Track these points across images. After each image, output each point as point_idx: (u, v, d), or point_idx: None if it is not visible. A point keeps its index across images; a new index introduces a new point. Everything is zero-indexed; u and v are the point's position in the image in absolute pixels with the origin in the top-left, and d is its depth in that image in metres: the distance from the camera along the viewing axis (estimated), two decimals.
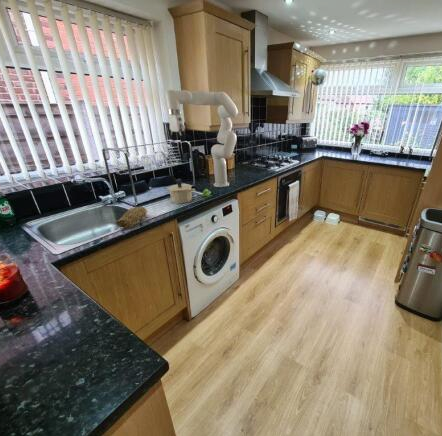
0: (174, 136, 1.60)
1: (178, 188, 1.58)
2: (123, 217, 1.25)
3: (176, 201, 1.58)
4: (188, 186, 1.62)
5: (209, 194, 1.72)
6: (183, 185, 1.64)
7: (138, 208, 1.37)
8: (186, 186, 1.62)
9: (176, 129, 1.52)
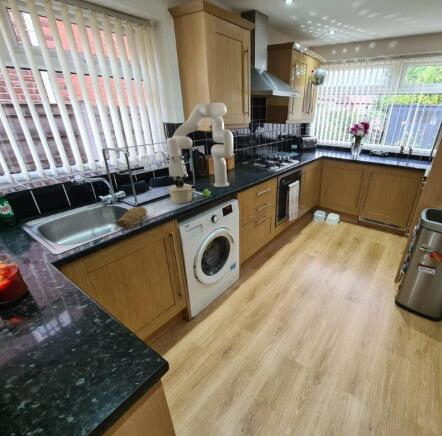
0: None
1: (178, 188, 1.58)
2: (123, 217, 1.25)
3: (176, 201, 1.58)
4: (188, 186, 1.62)
5: (209, 194, 1.72)
6: None
7: (138, 208, 1.37)
8: (186, 186, 1.62)
9: (180, 174, 1.55)
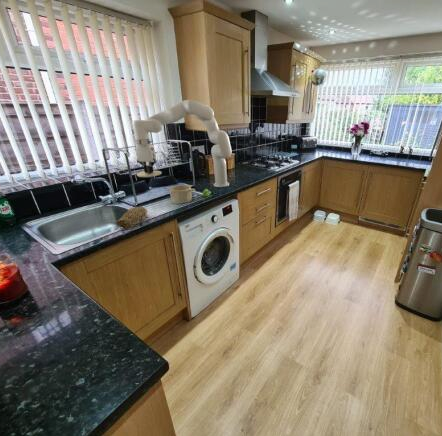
0: None
1: (147, 174, 1.50)
2: (123, 217, 1.25)
3: (176, 201, 1.58)
4: (158, 172, 1.54)
5: (209, 194, 1.72)
6: (153, 171, 1.56)
7: (138, 208, 1.37)
8: (156, 172, 1.54)
9: (149, 159, 1.47)
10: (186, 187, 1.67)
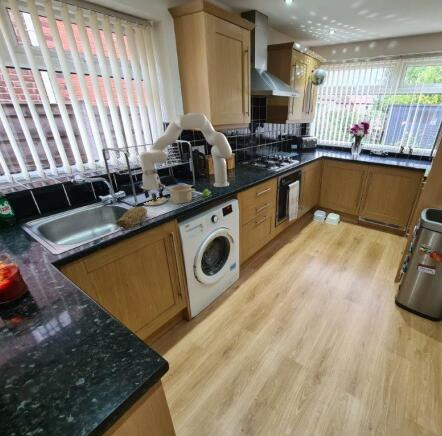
0: (147, 193, 1.60)
1: (152, 202, 1.58)
2: (123, 217, 1.24)
3: (176, 201, 1.58)
4: (163, 200, 1.62)
5: (209, 194, 1.72)
6: (158, 198, 1.64)
7: (138, 208, 1.37)
8: (161, 200, 1.62)
9: (154, 188, 1.55)
10: (186, 187, 1.67)
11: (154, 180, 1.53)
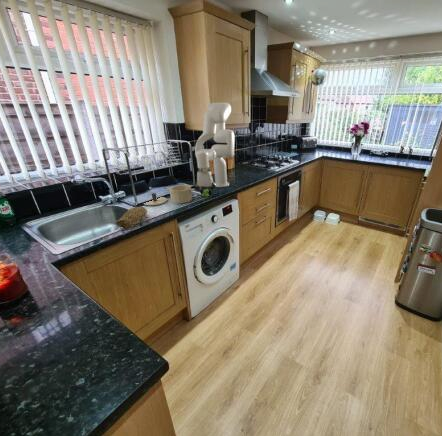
0: (202, 191, 1.72)
1: (152, 202, 1.58)
2: (123, 217, 1.25)
3: (176, 201, 1.58)
4: (163, 200, 1.62)
5: None
6: (158, 198, 1.64)
7: (138, 208, 1.37)
8: (161, 200, 1.62)
9: (208, 184, 1.67)
10: (186, 187, 1.67)
11: (208, 177, 1.65)
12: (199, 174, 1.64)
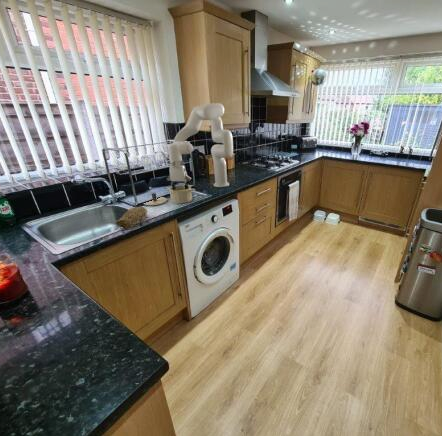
0: (174, 186, 1.62)
1: (152, 202, 1.58)
2: (123, 217, 1.25)
3: (176, 201, 1.58)
4: (163, 200, 1.62)
5: None
6: (158, 198, 1.64)
7: (138, 208, 1.37)
8: (161, 200, 1.62)
9: (181, 179, 1.57)
10: None
11: (181, 171, 1.55)
12: (171, 168, 1.54)
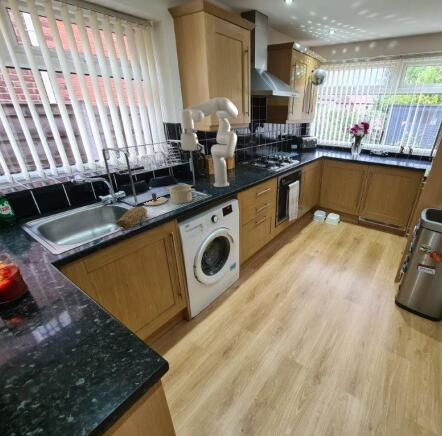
0: (184, 155, 1.58)
1: (152, 202, 1.58)
2: (123, 217, 1.25)
3: (176, 201, 1.58)
4: (163, 200, 1.62)
5: None
6: (158, 198, 1.64)
7: (138, 208, 1.37)
8: (161, 200, 1.62)
9: (193, 148, 1.54)
10: (186, 187, 1.67)
11: (193, 139, 1.51)
12: (183, 136, 1.51)
